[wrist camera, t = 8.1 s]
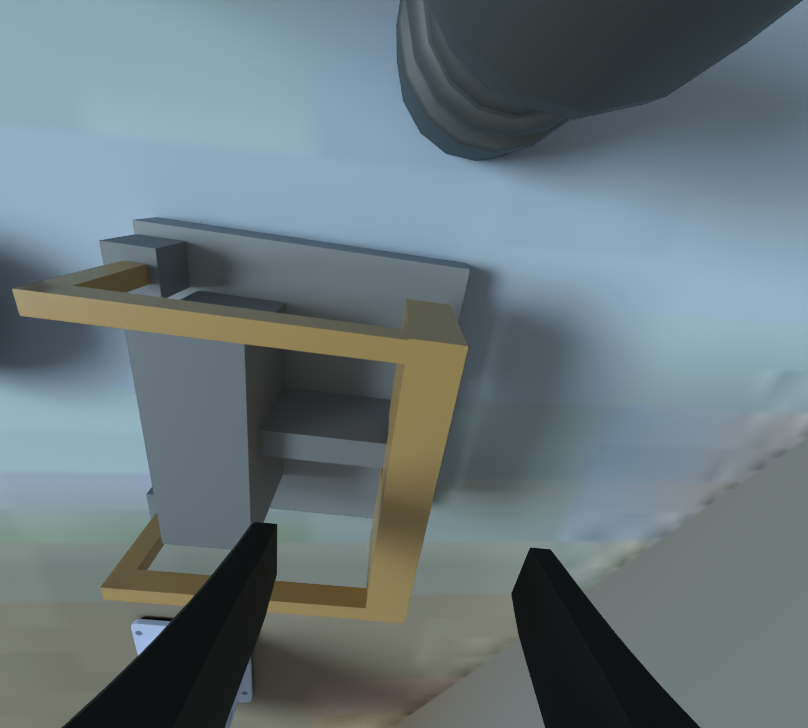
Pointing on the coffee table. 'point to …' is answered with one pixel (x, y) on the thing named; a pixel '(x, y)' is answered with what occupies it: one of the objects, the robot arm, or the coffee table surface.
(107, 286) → the tan bracket frame
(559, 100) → the candle holder
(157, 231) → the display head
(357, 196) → the coffee table surface
